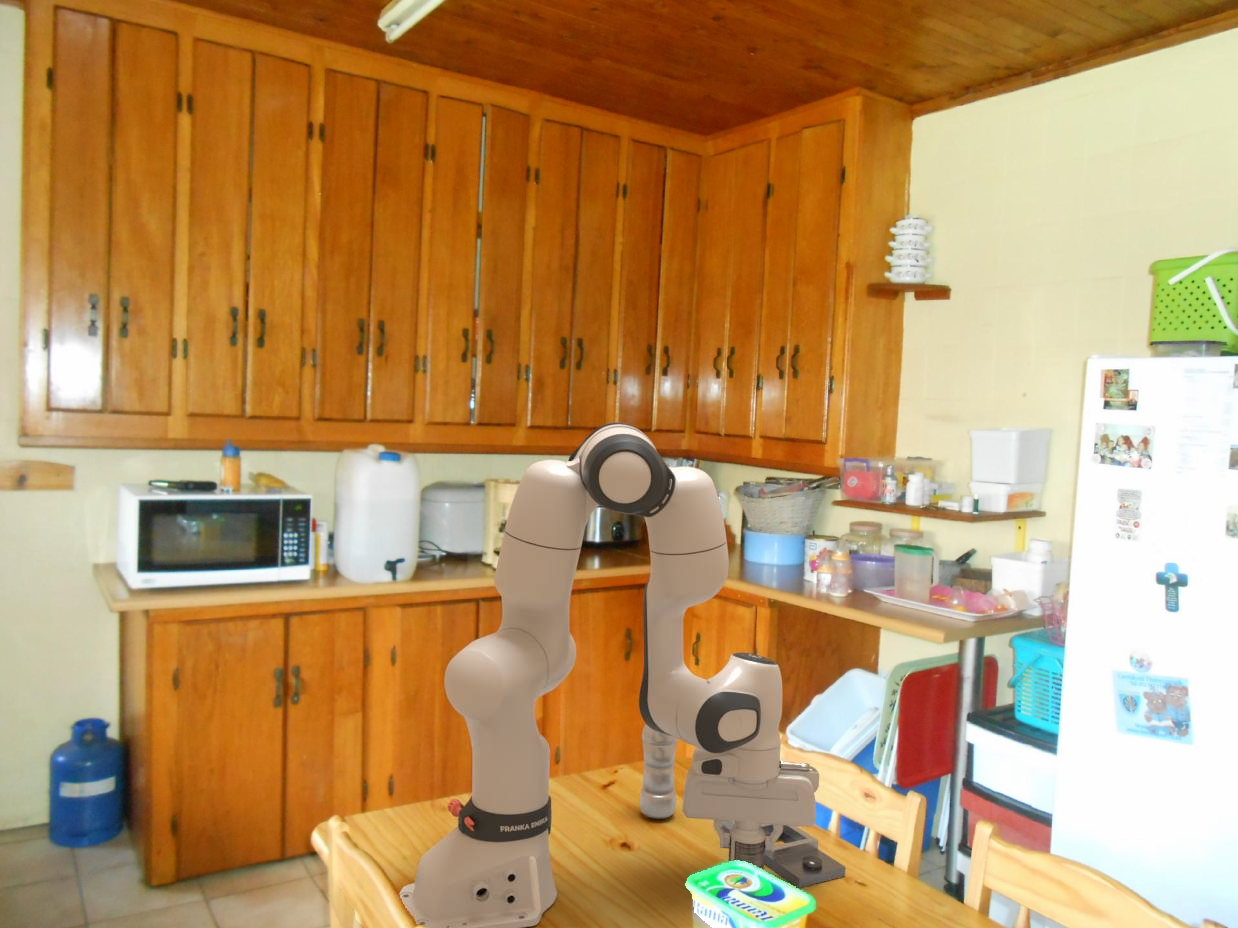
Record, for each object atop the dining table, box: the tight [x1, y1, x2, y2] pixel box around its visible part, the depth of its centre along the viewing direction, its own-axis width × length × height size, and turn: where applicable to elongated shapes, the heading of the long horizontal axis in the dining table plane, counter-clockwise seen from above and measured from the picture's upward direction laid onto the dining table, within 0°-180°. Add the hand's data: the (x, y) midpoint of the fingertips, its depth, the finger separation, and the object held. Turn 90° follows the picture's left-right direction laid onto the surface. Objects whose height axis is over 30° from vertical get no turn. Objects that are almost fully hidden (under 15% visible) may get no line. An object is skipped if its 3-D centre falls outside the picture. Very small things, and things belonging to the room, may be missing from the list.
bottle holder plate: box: [722, 821, 846, 889], centre depth 152 cm, size 9×22×4 cm, turn 28°
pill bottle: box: [728, 820, 765, 871], centre depth 143 cm, size 5×5×10 cm
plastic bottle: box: [639, 723, 679, 820], centre depth 164 cm, size 6×7×20 cm
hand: (746, 848), depth 143 cm, fingers closed on pill bottle, 5 cm apart
